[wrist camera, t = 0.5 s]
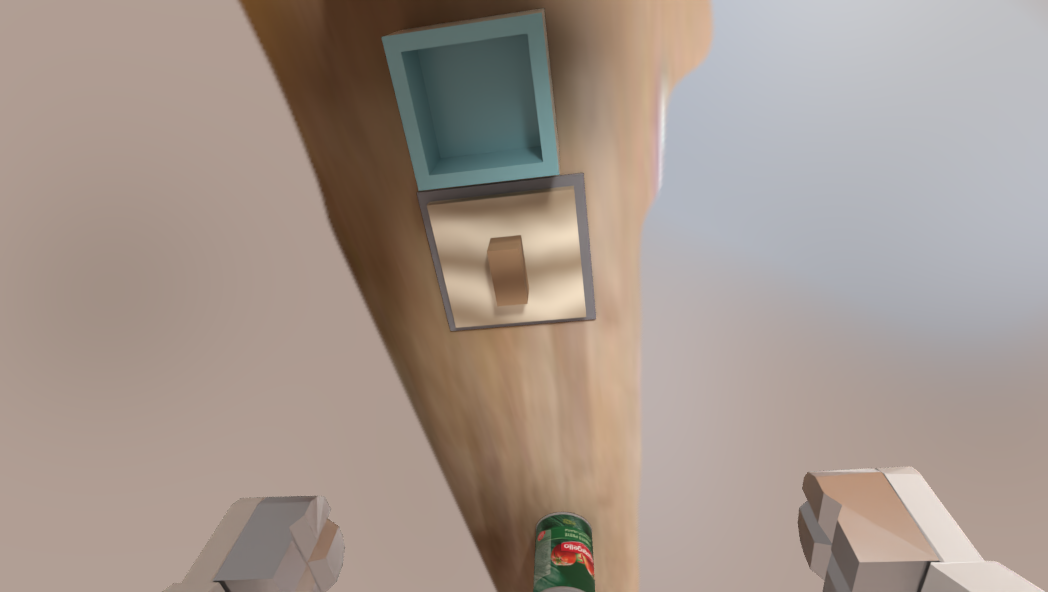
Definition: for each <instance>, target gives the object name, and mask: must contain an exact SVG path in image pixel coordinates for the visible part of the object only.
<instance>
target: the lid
mask: <svg viewBox="0 0 1048 592" xmlns="http://www.w3.org/2000/svg"><path fill="white" fill-rule="evenodd" d="M427 209H428V213H429V217H430V221H431V225H432V229H433V234H434V238H435V242H436V246H437V250H438V255H439V259H440V263H441V267H442V271H443V275H444V280H445V284H446V288H447V292H448V296H449V301H450V305H451V309H452V313H453V317H454V322H455V326H456V328H460V327H472V326H484V325H496V324H508V323H520V322H532V321H544V320H556V319H568V318H580V317H586V307H585V297H584V286H583V276H582V266H581V255H580V245H579V235H578V224H577V214H576V204H575V193H574V186H566V187H557V188H548V189H539V190H530V191H522V192H513V193H504V194H495V195H486V196H477V197H468V198H459V199H450V200H441V201H433V202H429V203H428V204H427Z"/></svg>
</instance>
